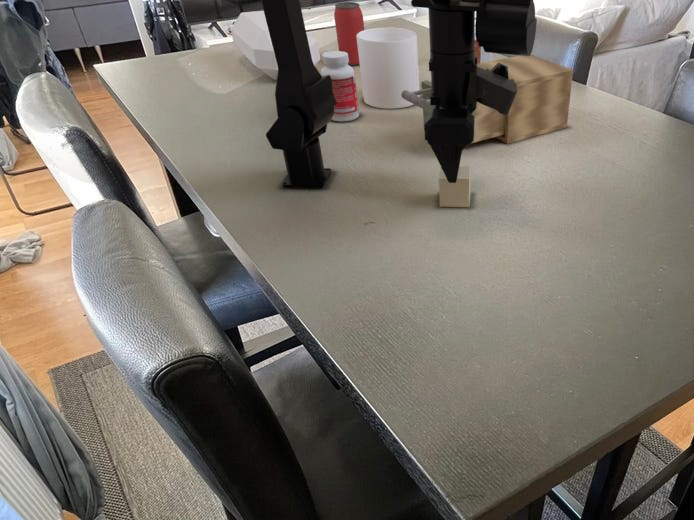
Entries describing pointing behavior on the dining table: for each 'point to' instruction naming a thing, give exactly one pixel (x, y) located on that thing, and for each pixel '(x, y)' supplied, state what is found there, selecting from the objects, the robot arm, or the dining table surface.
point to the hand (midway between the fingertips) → (454, 168)
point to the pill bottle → (341, 85)
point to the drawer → (485, 117)
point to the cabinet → (535, 96)
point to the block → (455, 189)
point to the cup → (388, 66)
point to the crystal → (261, 42)
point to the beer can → (348, 29)
